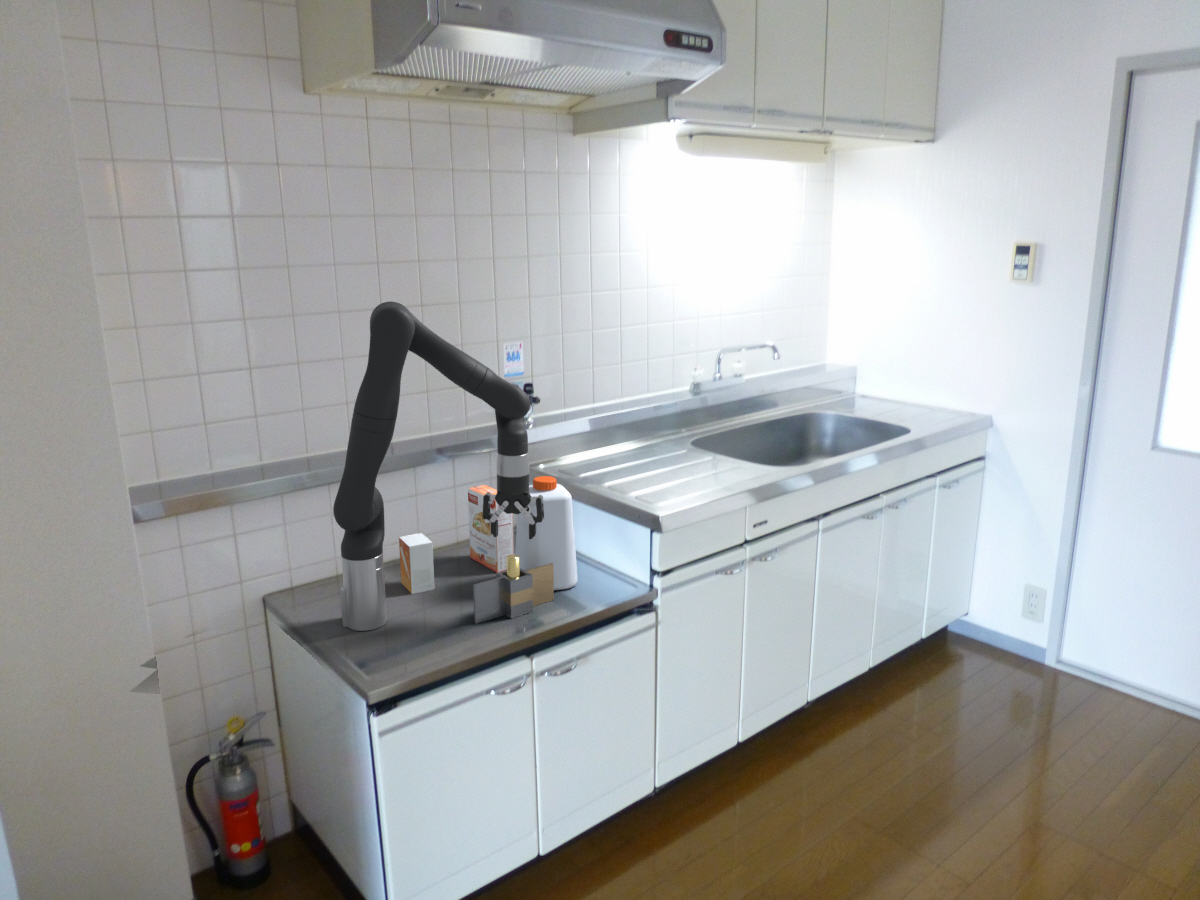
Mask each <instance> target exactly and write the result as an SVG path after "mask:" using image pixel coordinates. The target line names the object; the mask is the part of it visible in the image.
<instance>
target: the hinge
mask: <svg viewBox="0 0 1200 900" xmlns="http://www.w3.org/2000/svg"><path fill="white" fill-rule="evenodd" d="M554 592H555V590H554V569H553V563H550V564H546V565H542V566H539V567H535V568H532V569H528V570H523V569H521V568H520V577H518V578H514V579H510V578H508V577H507V570H506V571H502V572H498V573H496V577H495V578H493V579H492V578H491V579H489V580H484V581H481V582H477V583H474V584H472V594H473V595H472V596H473V598H472V599H473V620H474V621H473V623H474V624H476V625H477V624H481V623H483V622H487V621H490V620H493V619H495V618H500V617H504V616H506V617H508V618H509V619H511V618H512V619H514V617H516V618H518V617H517V616H519V617H521V616H520V615H522V616H524V615H523V614H525V615H528V614H531V613H530V612H532V613H534V607H536V606H538V605H542V604H546V603H549V602H552V601H554V599H555V598H554V595H555V594H554ZM527 613H528V614H527Z"/></svg>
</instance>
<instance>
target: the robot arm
mask: <svg viewBox="0 0 1200 900" xmlns="http://www.w3.org/2000/svg"><path fill="white" fill-rule="evenodd" d="M368 350H369V351H368V358H367V366H366V370H365V373H364V376H363V379H362V381H361V383H360V387H359V389H358V392H357V395H356V398H355V403H354V407H353V413H352V417H351V422H350V430H349V437H348V442H347V449H346V455H345V464H344V468H343V472H342V477H341V479H340V480H341V481H340V483H339V486H338V490H337V494H336V496H335V498H334V499H335V500H334V504H333V507H332V508H333V517H334V519H335V522H336V523H337V525H338V526H339V527H340V528H341V529H343V530H344V533H343V537H342V541H341V543H340V553H341V554H340V556H341V568H342V583H343V585H341V587H340V591H339V593H340V602H341V603H340V604H341V605H340V606H341V619H342V627H344V628H348V629H350V630H353V631H358V632H359V631H360V632H362V631H372V630H377V629H379V628H381V627H383V626H385V624H386V623H387V622H388V617H387V615H388V613H387V601H386V600H387V599H386V583H385V568H384V567H385V564H384V548H383V545H384V539H385V533H386V532H385V529H386V528H385V505H384V499H383V497H382V496H383V495H382V494H381V492H380V490H379V489H378V488H377V487H376V482H377V477H378V473H379V471H380V469H381V466H382V463H383V461H384V460H385V457H386V455H387V452H388V450H389V448H390V445H391V443H392V440H393V436H394V433H395V427H396V424H397V423H396V422H397V419H398V418H397V417H398V411H399V404H400V395H401V384H402V383H401V380H402V373H403V369H404V365H405V362H406V359H407V355H408V352H411V353H412V354H415V355H417V356H418V357H419V358H421V359H422V360H423V361H425V362H427V363H428V364H429V365H431V367H433V368H434V369H436V370H437V371H438V372H439V373H440V374H441V375H443V376H444V377H445V378H447V380H449V381H450V382H452V383H453V384H455V385H456V386H458V387H459V388H461V389H462V390H464V391H466V392H467V393H469V394H471V395H473V397H476V398H478V399H480V400H482V401H483V402H485V403H486V404H487V405H488V406H490V407H491V408H492V409H494V413H495V414H494V415H495V422H496V427H497V430H496V431H497V438H496V439H497V444H496V445H497V453H496V454H497V456H496V490H497V494H496V495H493V494H490V493H489V492H487V493H486V494H485V495H484V497H483V519H487V520H489V521H490V522H491V534H492V535H493V537H497V536H498V520H497V518H498V517H499V516H500V514H501V513H502V512H503V511H504V512H505V513H506V514H511V513H513V515H514V514H515V515H517V514H520V513H522V515H523V516H524V517H525V518H526V519H527V520H528V521H529V523H530V524H529V539H533V537H535V535H536V523H538V522H542V521H543V519H544V506H543V496H542V495H539V496H538V497H531V496H530V493H529V485H530V471H531V470H530V469H531V468H530V459H529V458H530V457H529V438H528V437H529V435H528V432H527V428H526V426H525V416H526V415H527V414H528V413H529V411H530V409H531V400H530V397H529V395H528V394H527V393H526V392H525V391H524V390H523V389H522V388H521V387H519V386H518V385H515V384H513V383H511V382H509V381H507V380H506V379H504V378H502V377H500V376H499V375H497V374H496V373H495V372H494V371H493V370H492V369H491V368H489V367H488V366H486V365H485V364H483V363H482V362H480V361H479V360H477V359H476V358H474V357H472V356H471V355H469V354H468V353H467V352H465V351H463V350H461V349H459V348H457V347H456V346H455V345H453V344H451V343H450V342H448V341H446V340H445V339H444V338H442V337H441V336H439V335H438V334H436V333H435V332H434V331H432V330H431V329H430V328H429V327H428V326H426V325H425V324H424V323H423V322H421V320H419V319H418V317H416V316H415V315H414V314H413V313H412V312H411V311H410V310H409V309H408V307H406V306H405V305H403V304H402V303H400V302H396V301H385V302H382V303H379V304H378V305H376V307H374V309H373V310H372V311H371V315H370V318H369V349H368ZM493 500H495V501H496V502H497V503H498V505H499V506H500V507H499V508H498V510H497V511H496V512H495V513H494V515H493V514H491V513H490V504H491V503H492V502H493ZM530 502H533V504H534V505H535V506H536V508H537V516H536V517H535V515H534V514H533V513H532V510H531V509H530V508H529V506H528V504H529V503H530ZM524 512H525V513H524Z"/></svg>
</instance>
